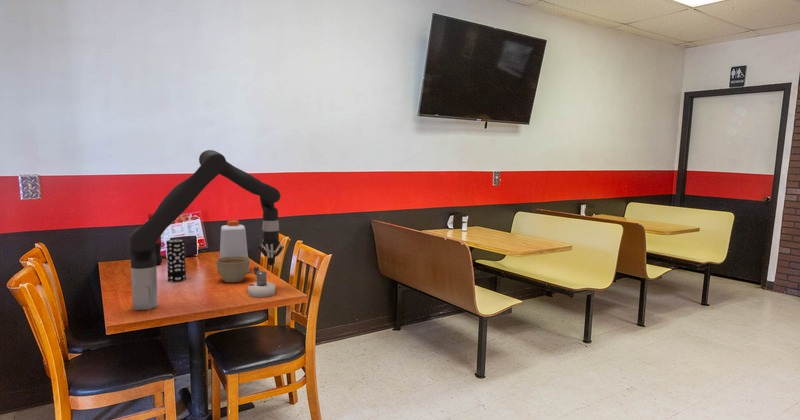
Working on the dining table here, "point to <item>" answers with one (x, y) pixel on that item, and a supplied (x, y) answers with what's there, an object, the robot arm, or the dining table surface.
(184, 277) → the spotted tube
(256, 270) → the capstan lever
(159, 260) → the cola bottle
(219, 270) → the planter bowl
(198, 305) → the dining table surface
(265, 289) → the stand
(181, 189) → the robot arm
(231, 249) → the plastic bottle
